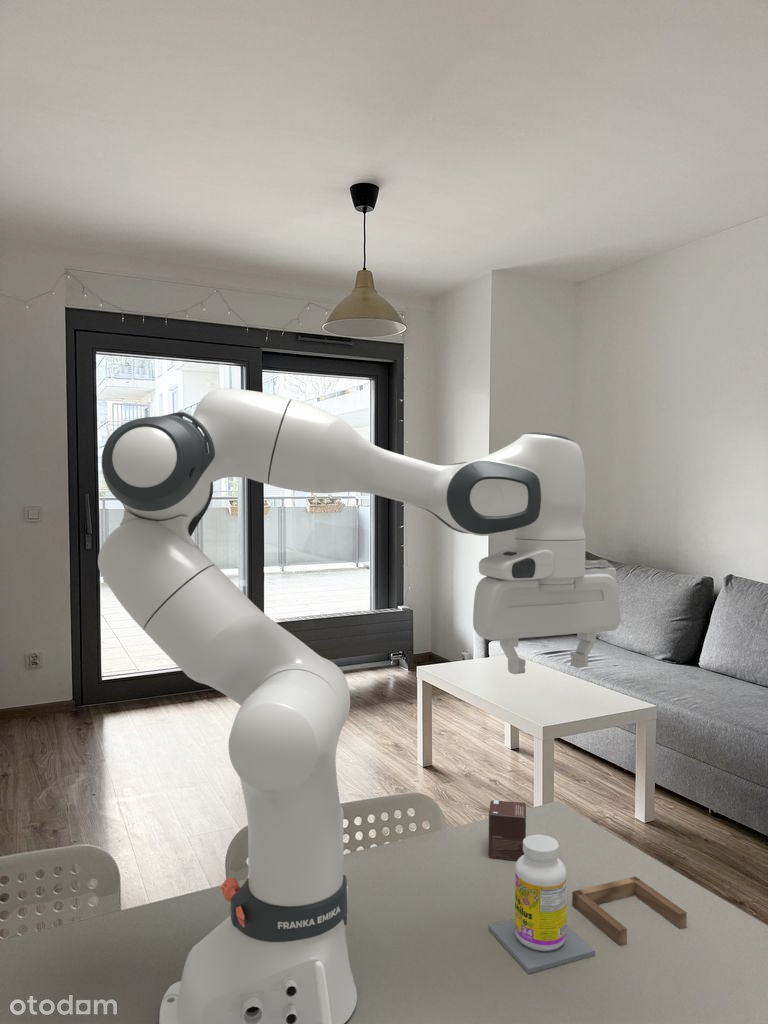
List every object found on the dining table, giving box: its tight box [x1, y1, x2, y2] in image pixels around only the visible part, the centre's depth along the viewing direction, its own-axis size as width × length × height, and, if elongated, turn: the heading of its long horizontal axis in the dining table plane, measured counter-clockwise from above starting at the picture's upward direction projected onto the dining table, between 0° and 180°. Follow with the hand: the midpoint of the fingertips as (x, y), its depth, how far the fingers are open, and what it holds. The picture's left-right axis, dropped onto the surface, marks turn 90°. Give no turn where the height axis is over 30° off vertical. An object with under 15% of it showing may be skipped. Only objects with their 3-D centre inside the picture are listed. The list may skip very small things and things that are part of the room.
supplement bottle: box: [514, 834, 567, 951], centre depth 96 cm, size 7×7×13 cm
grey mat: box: [487, 917, 596, 975], centre depth 97 cm, size 10×10×1 cm
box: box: [488, 800, 527, 861], centre depth 121 cm, size 6×6×7 cm
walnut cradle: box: [571, 876, 688, 946], centre depth 103 cm, size 11×10×2 cm
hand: (548, 669), depth 93 cm, fingers open, 8 cm apart
